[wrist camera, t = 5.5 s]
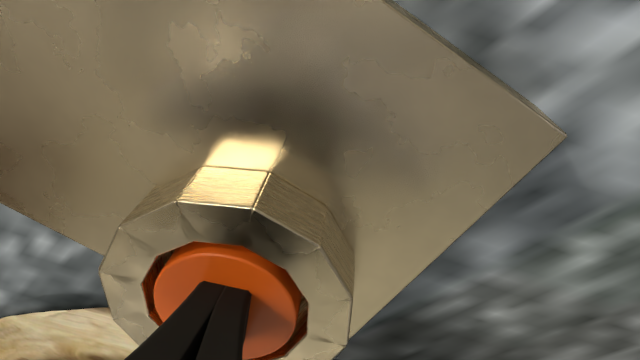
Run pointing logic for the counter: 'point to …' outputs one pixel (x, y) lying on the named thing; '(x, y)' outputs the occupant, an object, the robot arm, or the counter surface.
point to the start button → (239, 272)
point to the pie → (64, 336)
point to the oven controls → (256, 144)
